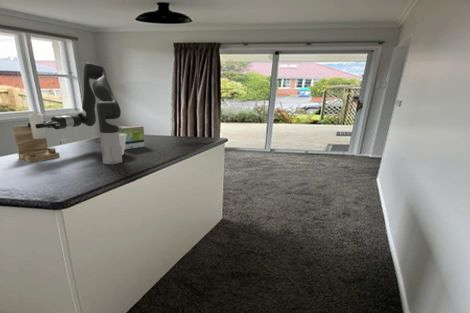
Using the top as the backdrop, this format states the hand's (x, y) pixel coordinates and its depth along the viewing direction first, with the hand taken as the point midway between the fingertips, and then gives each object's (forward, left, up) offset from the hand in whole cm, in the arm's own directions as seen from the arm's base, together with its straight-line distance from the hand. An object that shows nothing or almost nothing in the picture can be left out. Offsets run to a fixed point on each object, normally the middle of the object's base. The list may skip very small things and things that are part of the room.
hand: (32, 125), depth 133 cm
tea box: (-14, -50, -19) cm, 56 cm away
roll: (+1, -2, -7) cm, 7 cm away
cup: (-24, -32, -19) cm, 44 cm away
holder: (+4, -2, -19) cm, 19 cm away
